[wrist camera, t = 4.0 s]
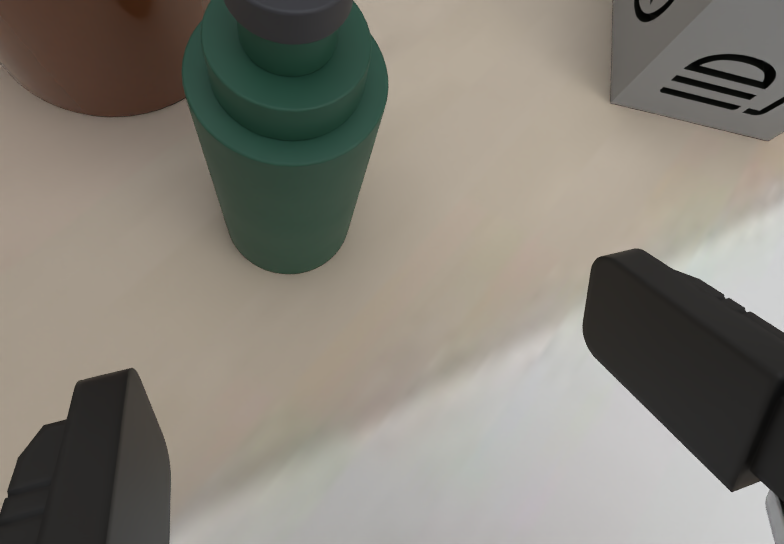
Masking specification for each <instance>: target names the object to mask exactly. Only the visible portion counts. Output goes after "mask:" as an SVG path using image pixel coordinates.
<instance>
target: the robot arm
mask: <svg viewBox="0 0 784 544" xmlns="http://www.w3.org/2000/svg"><path fill="white" fill-rule="evenodd" d="M583 335H584V339H585V342H586V345H587V347H588V349H589V350H590V352H591V353H592V355H593V356H594V357H595V358H596V359H597V360H598V361H599V362H600V363H601V364H602V365H603V366H604V367H605V368H606V369H607V370H608V371H609V372H610V373H611V374H612V375H613V376H614V377H615V378H616V379H617V380H618V381H619V382H620V383H621V384H622V385H623V386H624V387H625V388H626V389H627V390H628V391H629V392H630V393H631V394H632V395H633V396H634V397H635V398H636V399H638V400H639V401H640V402H641V403H642V404H643V405H644V406H645V407H646V408H647V409H648V410H649V411H650V412H651V413H652V414H653V415H654V416H655V417H656V418H657V419H658V420H659V421H660V422H661V423H662V424H663V425H664V426H665V427H666V428H667V429H668V430H669V431H670V432H671V433H672V434H673V435H674V436H675V437H676V438H677V439H678V440H679V441H680V442H681V443H682V444H683V445H684V446H685V447H686V448H687V449H688V450H689V451H690V452H691V453H692V454H693V455H694V456H695V457H696V458H697V459H698V460H699V461H700V462H701V463H702V464H703V465H704V466H705V467H707V468H708V469H709V470H710V471H711V472H712V473H713V474H714V475H715V476H716V477H717V478H718V479H719V480H720V481H721V482H722V483H723V484H724V485H725V486H726V487H727V488H728V489H729V490H730V491H731V492H734V491H736V490H739V489H741V488H744V487H747V486H749V485H752V484H754V483H757V482H759V481H761V482H763V483H764V484H765V485H766V486H767V487H768V488H769V489H770V490H769V492H768V494H767V497H766V502H765V504H766V510H767V514H768V518H769V522H770V526H771V530H772V534H773V537H774V541H775V544H784V332H782V331H780V330H779V329H777V328H776V327H774V326H773V325H771V324H769V323H768V322H766V321H765V320H763V319H762V318H760V317H758V316H757V315H755V314H754V313H752V312H746V311H745V308H744V307H743V306H741V305H739V304H738V303H736V302H735V301H733V300H732V299H730V298H728V299H725V297H724V294H722V293H721V292H719V291H717V290H716V289H714V288H713V287H711V286H710V285H708V284H706V283H705V282H703V281H702V280H700V279H698V278H695V277H692V276H690V275H687V274H684V273H682V272H679V271H676V270H673V269H672V268H670V267H669V266H667V265H666V264H664V263H662V262H661V261H659V260H658V259H656V258H655V257H653V256H652V255H650V254H649V253H647V252H646V251H644V250H641V249H631V250H626V251H622V252H618V253H614V254H610V255H606V256H601V257H599V258H597V259H596V260H595V261H594V263H593V265H592V268H591V273H590V279H589V286H588V292H587V299H586V305H585V312H584V318H583ZM7 492H8V498H5V500H4V503H3V506H2V509H1V512H0V544H169V539H170V495H171V470H170V461H169V455H168V450H167V446H166V442H165V439H164V436H163V434H162V431H161V429H160V426H159V424H158V421H157V419H156V416H155V414H154V411H153V409H152V406H151V404H150V401H149V399H148V396H147V394H146V391H145V389H144V386H143V384H142V381H141V379H140V377H139V375H138V373H137V371H136V370H135V369H134V368H129V369H125V370H121V371H117V372H113V373H109V374H104V375H100V376H96V377H92V378H88V379H84V380H80V381H78V382H77V383H76V385H75V388H74V392H73V396H72V400H71V404H70V408H69V412H68V416H67V420H63V421H59V422H55V423H51V424H47V425H44V426H43V427H42V428H41V429H40V431H39V432H38V433H37V434H36V436H35V437H34V438H33V440H32V441H31V442H30V443H29V445H28V446H27V447H26V448H25V450H24V451H23V452H22V454H21V455H20V456H19V457H18V460H17V463H16V466H15V469H14V472H13V475H12V478H11V481H10V485H9V488H8V491H7Z"/></svg>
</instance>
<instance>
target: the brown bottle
mask: <svg viewBox="0 0 784 544" xmlns="http://www.w3.org/2000/svg"><path fill="white" fill-rule="evenodd" d="M210 1H211V0H0V63H1V64H2V65H3V67H4V68H5V69H6V70H7V72H8V73H9V74H10V75H11V76H12V77H13V78H14V79H15V80H16V81H17V82H18V83H19V84H20V85H22V86H23V87H24V88H26V89H27V90H28V91H30V92H31V93H32V94H34V95H36V96H37V97H39V98H41V99H43V100H44V101H46V102H49V103H51V104H53V105H56V106H58V107H60V108H63V109H67V110H70V111H74V112H77V113H82V114H88V115H94V116H108V117H117V116H132V115H138V114H144V113H148V112H152V111H155V110H159V109H162V108H164V107H167V106H169V105H172V104H174V103H176V102H178V101H180V100H182V99H184V98H185V97H186V96H185V92H184V88H183V84H182V60H183V56H184V52H185V48H186V46H187V43H188V41H189V38H190V36H191V35H192V33H193V31H194V30H195V28H196V27H197V25H198V24H199V23H200V22H201V21H202V19H203V15H204V13H205V10H206V8H207V6H208V4H209V2H210Z"/></svg>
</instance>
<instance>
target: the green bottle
mask: <svg viewBox="0 0 784 544" xmlns="http://www.w3.org/2000/svg"><path fill="white" fill-rule="evenodd" d="M182 84H183V88H184V92H185V96H186V99H187V103H188V106H189V109H190V112H191V115H192V118H193V121H194V125H195V128H196V131H197V134H198V137H199V140H200V143H201V147H202V150H203V153H204V156H205V159H206V162H207V165H208V169H209V172H210V175H211V178H212V181H213V184H214V187H215V191H216V194H217V197H218V200H219V203H220V206H221V209H222V213H223V216H224V219H225V222H226V225H227V228H228V231H229V234H230V237H231V239H232V241H233V243H234V245H235V246H236V248H237V249H238V250H239V251H240V253H241V254H242V255H243V256H244V257H245V258H246V259H248V260H249V261H250V262H252V263H253V264H255V265H257V266H258V267H260V268H263V269H265V270H267V271H271V272H275V273H281V274H296V273H303V272H307V271H310V270H313V269H315V268H317V267H319V266H321V265H323V264H324V263H326V262H327V261H328V260H330V259H331V258H332V257H333V256H334V255H335V254H336V252H337V251H338V250H339V249H340V247H341V245H342V244H343V242H344V240H345V237H346V235H347V231H348V228H349V225H350V221H351V218H352V215H353V211H354V208H355V205H356V202H357V198H358V195H359V192H360V188H361V185H362V182H363V178H364V175H365V172H366V168H367V165H368V162H369V158H370V155H371V152H372V149H373V145H374V142H375V139H376V135H377V132H378V129H379V125H380V122H381V119H382V115H383V112H384V109H385V105H386V101H387V95H388V74H387V69H386V64H385V61H384V58H383V55H382V53H381V51H380V49H379V47H378V45H377V43H376V41H375V40H374V38H373V37H372V35H371V34H370V31H369V28H368V25H367V22H366V20H365V18H364V16H363V14H362V12H361V11H360V9H359V8H358V6H357V5H356V3H355V2H354V1H353V0H211V1H210V2H209V4H208V6H207V8H206V10H205V13H204V15H203V19H202V21H201V22H200V23H199V24H198V25H197V27H196V28H195V30H194V31H193V33H192V35H191V36H190V38H189V41H188V43H187V46H186V48H185V52H184V56H183V60H182Z"/></svg>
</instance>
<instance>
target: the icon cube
mask: <svg viewBox="0 0 784 544" xmlns="http://www.w3.org/2000/svg"><path fill="white" fill-rule="evenodd" d="M610 103H613V104H617V105H621V106H625V107H630V108H634V109H638V110H642V111H646V112H650V113H654V114H659V115H663V116H667V117H671V118H675V119H679V120H683V121H688V122H692V123H696V124H700V125H704V126H708V127H712V128H717V129H721V130H725V131H729V132H733V133H737V134H741V135H746V136H750V137H754V138H758V139H762V140H766V141H769V140H771V139H773V138H774V137H776V136H778V135H779V134H781V133H783V132H784V0H613V23H612V61H611V99H610Z"/></svg>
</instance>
